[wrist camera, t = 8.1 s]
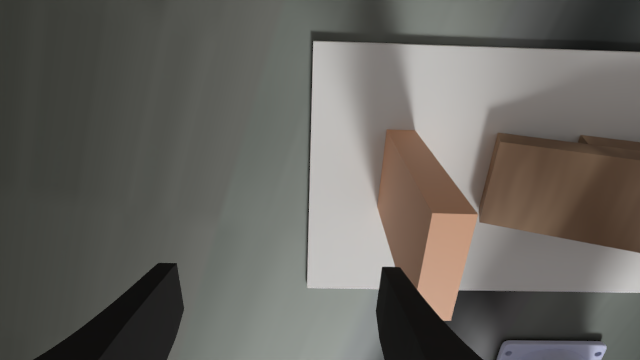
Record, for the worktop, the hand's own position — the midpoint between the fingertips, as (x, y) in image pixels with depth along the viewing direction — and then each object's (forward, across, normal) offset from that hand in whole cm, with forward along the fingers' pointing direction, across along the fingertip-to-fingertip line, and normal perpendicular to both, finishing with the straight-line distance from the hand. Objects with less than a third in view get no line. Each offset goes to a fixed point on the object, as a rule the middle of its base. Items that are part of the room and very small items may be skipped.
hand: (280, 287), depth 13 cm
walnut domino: (+9, -11, 0) cm, 15 cm away
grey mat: (+10, -16, +1) cm, 19 cm away
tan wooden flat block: (+10, -6, 0) cm, 12 cm away
